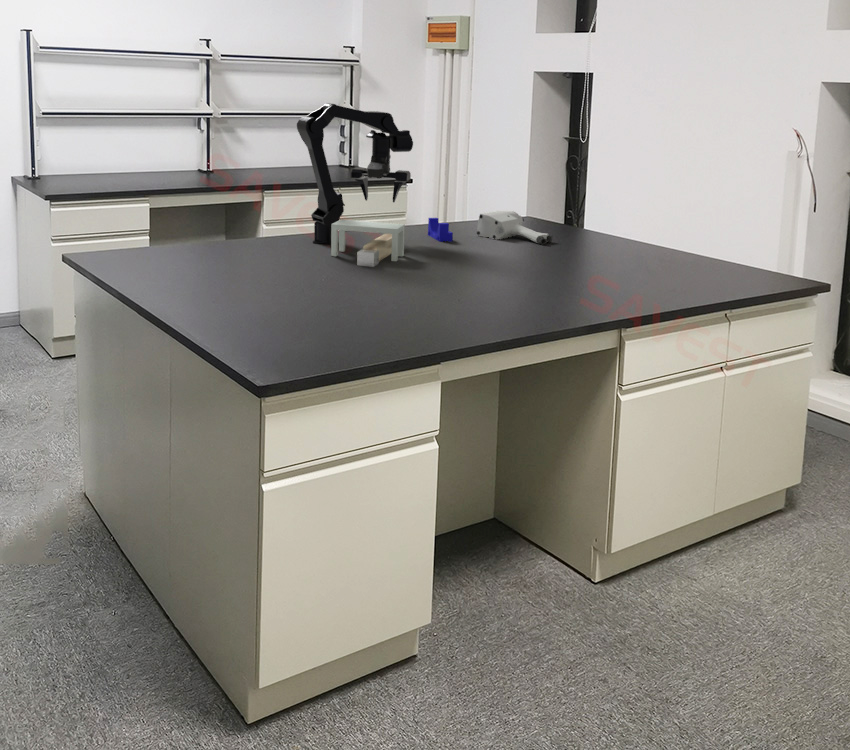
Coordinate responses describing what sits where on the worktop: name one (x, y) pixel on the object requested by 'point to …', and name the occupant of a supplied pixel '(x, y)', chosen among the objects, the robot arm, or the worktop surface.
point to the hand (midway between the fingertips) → (380, 201)
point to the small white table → (365, 226)
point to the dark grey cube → (368, 257)
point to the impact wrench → (507, 227)
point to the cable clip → (439, 230)
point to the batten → (381, 245)
